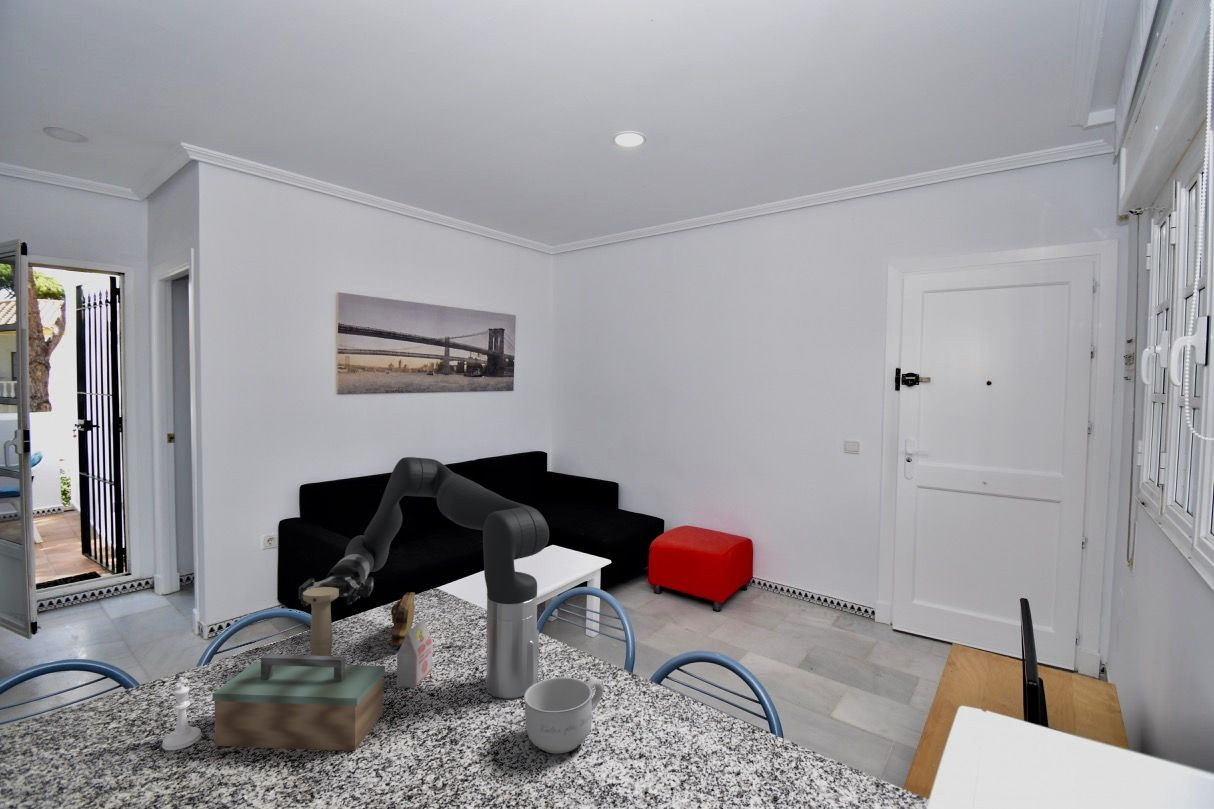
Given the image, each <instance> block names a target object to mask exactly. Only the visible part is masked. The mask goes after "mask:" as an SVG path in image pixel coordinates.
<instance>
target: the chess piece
mask: <svg viewBox="0 0 1214 809" xmlns="http://www.w3.org/2000/svg"><path fill="white" fill-rule="evenodd" d="M187 683H189V679H188V678H185V677H184V676H180V677H179V678H178V682H176V683H175V684H174V687H175V688H176V689H175V690H174V691H173V696H174V697H175V699H176V703H175V704H173V708H172V709H173V710H176V711H177V714H176V715H177V716H176V722H175V723H176V724H175V729H174V730H173V731H172V732H170V733H168V734H167V735H166V736H165V737H164V738H163V740H162V745H161V748H162V749H163V750H165V751H177V750H182V749H184V748H187V747H189V746H192V745H193V744H195V743H197V742H198V741H199V740H200V739H201V738H202V729H201V728H199V727H196V726H190V725H189V722H188V717H187V709H186V708H188V707H189V706H190V705H191V702H190V701H189V700H187V698H188V694H189V692H190V690H191V688H190V687H189V686H185V685H186V684H187Z"/></svg>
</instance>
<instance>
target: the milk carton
mask: <svg viewBox="0 0 1214 809" xmlns="http://www.w3.org/2000/svg"><path fill="white" fill-rule="evenodd" d="M433 644H434V643H433V638H432V636H431V633H430V632H429V628H428V626H427V623H426V619H422V620H420V621H419V622H418V623H417V624H416V625H414V626H412V627H411V630H410V631H409V632H407V633H406V635H405V639H404V641H403V644H402V645H400V648H399V650H398V652H397V654H396V687H404V688H406V687H407V688H414V687H415V688H417V687H418V686H419V685H420V684H421V682H422V681H424V679H425V678H427V677H428V675H429V674H430V673H431V672H433V646H434V645H433ZM418 684H419V685H418ZM417 685H418V686H417ZM416 686H417V687H416ZM415 688H414V689H415Z"/></svg>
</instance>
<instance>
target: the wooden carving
mask: <svg viewBox="0 0 1214 809" xmlns="http://www.w3.org/2000/svg"><path fill="white" fill-rule="evenodd" d="M415 598H416V593H415V592H406V593H405V594H403V596H402V598H401V599H400V600H397V601H396V603H395V604H393V605H392V607H391V610H390V613H391V614H390V615H391V620H392V624H393V626H392V628H391V631H390V635H391V640H390V644H391V645H393V646H394V645H395V646H402V644H403V641H404V639H405V635H406V633H407V632H409V631H410V630H411V629H412V628H413V623H414V616H415V609H416V605H415Z"/></svg>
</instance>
